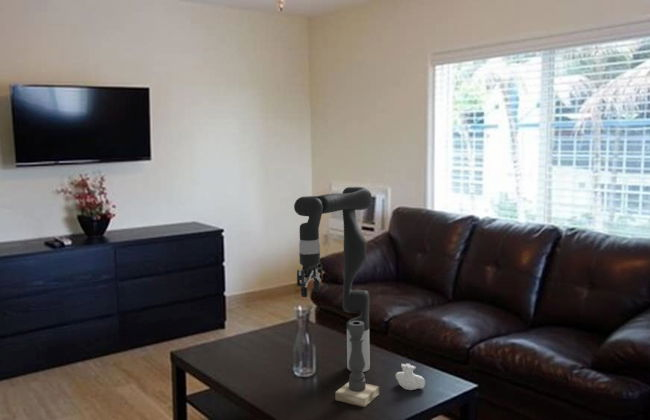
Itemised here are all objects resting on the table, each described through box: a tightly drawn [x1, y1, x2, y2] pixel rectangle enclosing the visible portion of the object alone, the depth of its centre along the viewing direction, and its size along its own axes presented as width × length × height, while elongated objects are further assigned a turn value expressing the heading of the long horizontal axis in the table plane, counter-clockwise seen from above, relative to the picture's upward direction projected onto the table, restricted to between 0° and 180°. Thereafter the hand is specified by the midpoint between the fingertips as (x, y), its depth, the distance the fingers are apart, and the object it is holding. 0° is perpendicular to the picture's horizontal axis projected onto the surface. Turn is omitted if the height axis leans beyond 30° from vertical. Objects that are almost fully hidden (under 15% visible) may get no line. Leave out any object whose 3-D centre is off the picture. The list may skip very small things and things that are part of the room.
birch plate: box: [334, 381, 380, 408], centre depth 220 cm, size 12×12×3 cm
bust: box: [395, 363, 426, 391], centre depth 226 cm, size 12×8×11 cm
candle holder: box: [348, 321, 366, 392], centre depth 219 cm, size 6×6×25 cm
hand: (310, 294), depth 220 cm, fingers open, 8 cm apart
